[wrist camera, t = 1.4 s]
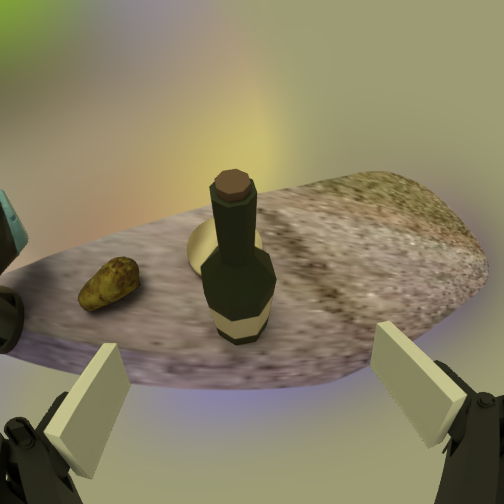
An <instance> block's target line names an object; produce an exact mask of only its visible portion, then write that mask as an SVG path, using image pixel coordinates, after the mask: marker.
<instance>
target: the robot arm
mask: <svg viewBox="0 0 504 504" xmlns="http://www.w3.org/2000/svg"><path fill="white" fill-rule="evenodd" d="M27 243H28V234H27V232H26V230H25V228H24V226H23V225H22V223H21V221H20V219H19V217H18V216H17V214H16V212H15V210H14V208H13V207H12V205H11V203H10V201H9V199H8V198H7V196H6V194H5V192H4V191H3V190H0V275H1V274H2V273H3V272H4V271H5V269H6V268H7V267H8V266H9V265H10V264H11V262H13V260H14V259H15V258H16V257H17V256H19V254H20V252H21V251H22V249H23V248H24V247H25V246H26V245H27ZM23 322H24V308H23V303H22V300H21V298H20V296H19V295H18V294H17V293H16V292H14V291H13V290H12V289H10V288H8V287H5V286H1V285H0V354H5V353H7V352H9V351H10V350H11V349H12V348H13V347H14V346H15V344H16V343H17V341H18V339H19V337H20V334H21V331H22V327H23ZM370 367H371V368H372V370H373V371H374V372H375V374H376V375H377V377H378V378H379V379H380V381H381V382H382V384H383V385H384V386H385V388H386V389H387V390H388V392H389V393H390V395H391V396H392V397H393V399H394V400H395V402H396V403H397V404H398V406H399V407H400V408H401V410H402V411H403V413H404V414H405V416H406V417H407V418H408V420H409V421H410V423H411V424H412V425H413V427H414V429H415V430H416V431H417V433H418V434H419V436H420V437H421V439H422V440H423V441H424V443H425V444H426V446H427V447H428V449H429V448H431V447H433V446H435V445H437V444H439V443H441V442H442V441H443V439H444V438H445V436H446V434H447V433H449V435H450V436H451V438H450V440H449V441H448V443H447V445H446V446H445V448H444V449H443V452H442V453H445V451H446V449H447V454H446V459H445V464H444V469H443V473H442V477H441V481H440V485H439V489H438V493H437V496H436V499H435V503H434V504H504V395H502V396H498V397H494V396H493V395H492V394H490V393H486V392H479V393H476V392H475V391H474V390H472V388H471V387H469V386H468V385H467V384H466V383H465V382H464V381H463V380H462V379H461V378H460V377H458V375H457V374H456V373H455V372H453V371H452V370H451V369H450V368H449V367H448V366H447V365H446V364H444V363H442V362H440V361H438V360H436V361H432V360H431V359H430V358H429V357H428V356H427V355H426V354H425V353H423V352H422V351H421V350H420V349H419V348H418V347H417V346H416V345H415V344H414V343H413V342H412V341H411V340H410V339H409V338H407V337H406V336H405V335H404V334H403V333H402V332H401V331H400V330H399V329H398V328H397V327H395V326H394V325H393V324H392V323H391V322H390V321H386V322H381V323H377V326H376V333H375V339H374V345H373V351H372V357H371V362H370ZM130 386H131V385H130V382H129V379H128V376H127V373H126V370H125V367H124V364H123V361H122V358H121V355H120V352H119V349H118V345H117V343H104V344H103V345H102V347H101V348H100V349H99V351H98V352H97V353H96V355H95V356H94V358H93V359H92V360H91V362H90V363H89V364H88V366H87V367H86V369H85V370H84V372H83V373H82V374H81V376H80V377H79V379H78V380H77V382H76V383H75V384H74V386H73V387H72V389H71V390H70V392H64V393H62V394H61V395H60V396H58V397H57V398H56V400H55V401H54V402H53V404H52V406H51V407H50V408H49V410H48V412H47V413H46V414H45V416H44V417H43V419H42V420H41V422H40V423H39V425H38V426H37V428H36V429H35V430H34V428H33V427H32V425H31V424H30V422H29V421H28V420H27V419H26V418H23V417H15V418H13V419H10V420H9V421H8V422H7V423H6V425H5V427H4V432H5V434H6V435H7V436H8V438H9V439H5V438H4V437H3V436H2V434H1V433H0V504H83V503H82V501H81V498H80V496H79V494H78V492H77V490H76V488H75V485H74V483H73V481H72V479H71V477H70V475H69V474H68V471H69V469H70V468H71V469H72V470H73V471H74V472H75V473H76V475H78V476H81V477H85V478H88V479H93V476H94V473H95V471H96V468H97V465H98V463H99V460H100V457H101V455H102V452H103V450H104V447H105V445H106V442H107V440H108V437H109V435H110V433H111V430H112V427H113V425H114V423H115V421H116V418H117V416H118V414H119V411H120V409H121V407H122V404H123V402H124V400H125V397H126V395H127V393H128V391H129V388H130ZM6 475H7V476H8V479H7V480H6Z"/></svg>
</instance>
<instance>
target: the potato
mask: <svg viewBox="0 0 504 504" xmlns="http://www.w3.org/2000/svg"><path fill="white" fill-rule="evenodd" d="M140 285H141V284H140V282H139V268H138V265H137V263H136V262H135V261H134V260H133V259H130V258H127V257H117V258H113V259H112V260H110V261H109V262H108V263H107V264H105V265H104V266H102V268H101V269H100V270H99V271H98V272H97V273H96V274H95V275H94V276H93V277H92V278H91V279H90V280H89V281H88V282H87V283H86V284H85V285H84V287H83V288H82V289H81V291H80V293H79V295H78V301H79V304H80V305H81V307H82V308H83V309H84V310H86V311H95V310H96V309H98V308H103V307H105V306H106V305H109V304H111V303H114V302H116V301H117V300H119V299H120V298H122V297H124V296H125V295H127V294H128V293H130V292H132V291H133V290H134V289H136V288H138V287H139V286H140Z"/></svg>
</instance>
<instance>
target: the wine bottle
mask: <svg viewBox="0 0 504 504" xmlns="http://www.w3.org/2000/svg"><path fill="white" fill-rule="evenodd" d="M209 188H210V195H211V202H212V209H213V216H214V222H215V229H216V236H217V242H218V246H217V247H216V248H215V249H214V250H213V252H212V253H211V254H210V255H209V257H208V258H207V259H206V260H205V261H204V263H203V264H202V265H201V266H200V269H201V276H202V282H203V289H204V294H205V297H206V300H207V303H208V305H209V308H210V311H211V314H212V317H213V319H214V322H215V325H216V328H217V330H218V333H219V335H220V336H222V337H223V338H225V339H227V340H228V341H230V342H231V343H233V344H235V345H241V344H246V343H250V342H255V341H257V339H258V338H259V336H260V335H261V333H262V331H263V330H264V328H265V327H266V325H267V321H268V317H269V312H270V308H271V303H272V298H273V294H274V289H275V284H276V276H275V272H274V269H273V266H272V262H271V259H270V256H269V254H268V253H266V252H265V251H263V250H261V249H259V248H258V247H256V246H255V229H256V206H257V191H256V188H255V185H254V182H253V180H252V179H250V178H249V176H248V174H247V173H245V172H242V171H240V170H238V169H232V170H226V171H222V172H221V173H220V174H219V175H218V176H217V177H216V178H215V182H214V183H213V184H212V185H211V186H210V187H209Z"/></svg>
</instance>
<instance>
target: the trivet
mask: <svg viewBox="0 0 504 504" xmlns="http://www.w3.org/2000/svg"><path fill="white" fill-rule="evenodd" d="M217 246H218V242H217V236H216V229H215V222H214V218H212V219H210V220H207V221H206V222H204V223H202V224H201V225H199V226H198V227H197V228H196V229H195V230H194V231H193V233H192V234H191V236H190V238H189V241H188V245H187V254H188V258H189V261H190V264H191V266H192V268H193V269H194V270H195V272H196V273H197V274H199V275H200V276H201V269H200V266H201V265H202V264H203V263H204V261H205V260H206V259H207V258H208V257H209V255H210V254H211V253H212V252H213V250H214V249H215V248H216V247H217ZM255 246H256V247H258V248H259V249H261V250H262V240H261V237H260V235H259V233H258V231H257V230H256V229H255ZM201 277H202V276H201Z"/></svg>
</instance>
